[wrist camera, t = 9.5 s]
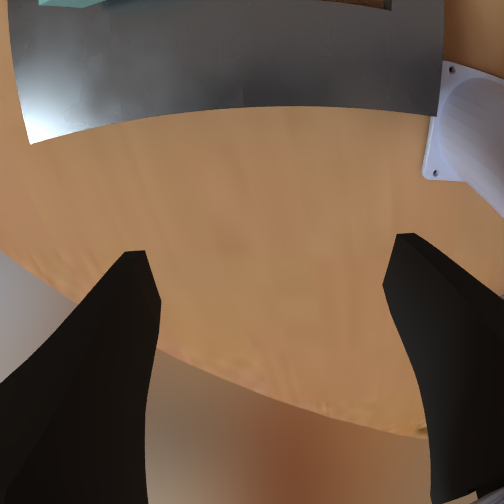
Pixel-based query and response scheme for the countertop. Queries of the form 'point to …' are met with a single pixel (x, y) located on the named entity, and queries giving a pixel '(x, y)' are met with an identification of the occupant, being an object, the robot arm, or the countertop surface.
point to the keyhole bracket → (220, 58)
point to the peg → (69, 3)
